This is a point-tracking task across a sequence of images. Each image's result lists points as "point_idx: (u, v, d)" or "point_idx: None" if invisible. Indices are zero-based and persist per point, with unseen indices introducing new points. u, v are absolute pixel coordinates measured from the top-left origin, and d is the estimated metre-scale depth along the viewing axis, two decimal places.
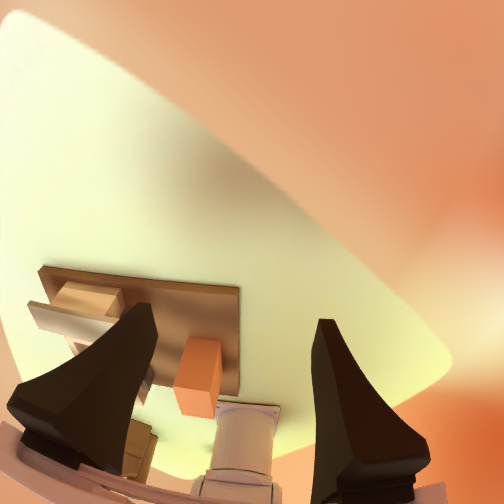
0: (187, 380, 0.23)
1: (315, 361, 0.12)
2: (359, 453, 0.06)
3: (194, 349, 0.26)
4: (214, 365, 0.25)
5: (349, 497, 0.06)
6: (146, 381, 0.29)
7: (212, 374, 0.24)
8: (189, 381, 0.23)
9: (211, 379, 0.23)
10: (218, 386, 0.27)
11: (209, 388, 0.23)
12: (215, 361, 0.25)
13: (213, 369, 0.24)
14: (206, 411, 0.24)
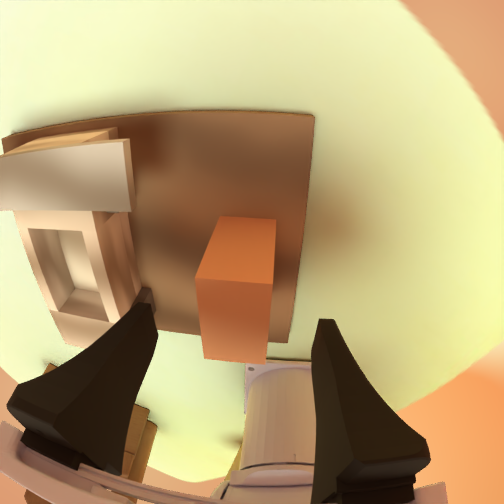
0: (224, 268, 0.12)
1: (315, 361, 0.12)
2: (359, 453, 0.06)
3: (233, 228, 0.15)
4: (273, 247, 0.14)
5: (349, 497, 0.06)
6: None
7: (272, 258, 0.13)
8: (229, 269, 0.12)
9: (272, 266, 0.13)
10: None
11: (271, 278, 0.12)
12: (273, 242, 0.14)
13: (273, 252, 0.14)
14: (254, 344, 0.14)
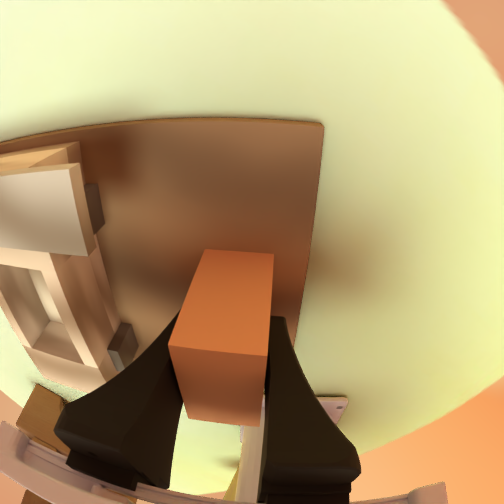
0: (205, 330, 0.09)
1: None
2: (273, 454, 0.06)
3: (220, 268, 0.12)
4: (269, 296, 0.11)
5: (275, 499, 0.06)
6: (120, 353, 0.15)
7: (268, 315, 0.10)
8: (211, 333, 0.09)
9: (267, 326, 0.10)
10: None
11: (266, 347, 0.09)
12: (270, 289, 0.11)
13: (268, 304, 0.11)
14: (246, 410, 0.11)
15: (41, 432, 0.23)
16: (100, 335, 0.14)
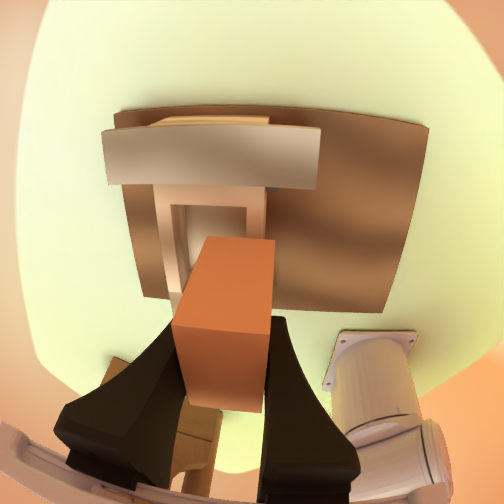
0: (208, 310, 0.10)
1: None
2: (273, 454, 0.06)
3: (222, 253, 0.13)
4: (271, 279, 0.11)
5: (275, 499, 0.06)
6: None
7: (270, 296, 0.10)
8: (214, 313, 0.10)
9: (269, 307, 0.10)
10: None
11: (268, 326, 0.09)
12: (271, 272, 0.12)
13: (270, 286, 0.11)
14: (248, 395, 0.11)
15: None
16: None
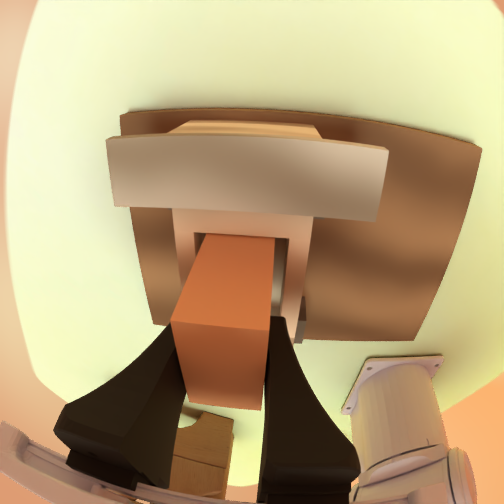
0: (208, 306, 0.10)
1: None
2: (273, 454, 0.06)
3: (221, 250, 0.13)
4: (270, 275, 0.11)
5: (275, 499, 0.06)
6: None
7: (269, 292, 0.10)
8: (214, 309, 0.10)
9: (269, 303, 0.10)
10: None
11: (267, 322, 0.09)
12: (271, 269, 0.12)
13: (270, 283, 0.11)
14: (248, 392, 0.11)
15: None
16: None
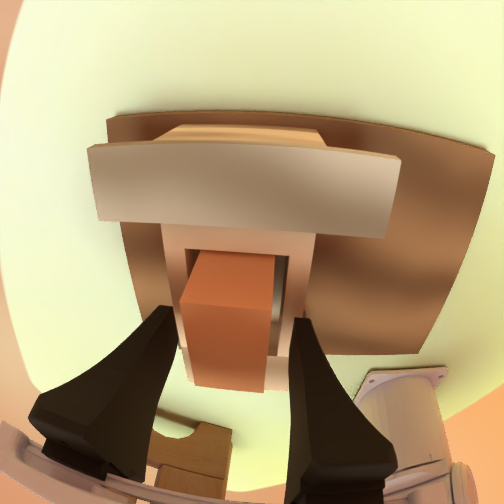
0: (214, 289, 0.10)
1: (291, 360, 0.12)
2: (318, 455, 0.06)
3: None
4: (272, 262, 0.12)
5: (313, 499, 0.06)
6: None
7: (272, 277, 0.11)
8: (220, 291, 0.10)
9: (271, 286, 0.11)
10: None
11: (270, 303, 0.10)
12: (273, 256, 0.12)
13: (272, 268, 0.12)
14: (251, 373, 0.12)
15: None
16: None
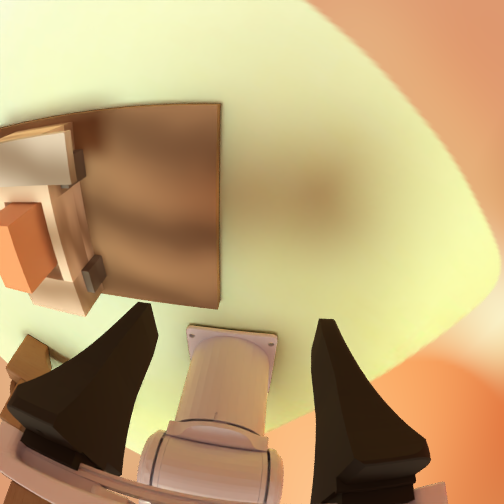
0: None
1: (315, 361, 0.12)
2: (359, 453, 0.06)
3: None
4: (33, 206, 0.16)
5: (349, 497, 0.06)
6: (90, 274, 0.21)
7: (24, 213, 0.15)
8: None
9: (19, 217, 0.15)
10: (51, 255, 0.18)
11: (10, 223, 0.14)
12: (37, 204, 0.16)
13: (29, 209, 0.16)
14: (19, 275, 0.16)
15: (27, 374, 0.28)
16: (77, 257, 0.20)
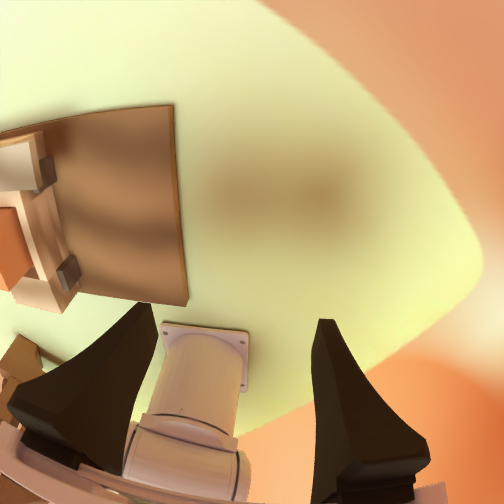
0: None
1: (315, 361, 0.12)
2: (359, 453, 0.06)
3: None
4: (8, 210, 0.16)
5: (349, 497, 0.06)
6: (65, 273, 0.21)
7: (0, 217, 0.15)
8: None
9: None
10: (27, 255, 0.19)
11: None
12: (12, 208, 0.17)
13: (4, 213, 0.16)
14: None
15: (17, 372, 0.28)
16: (51, 258, 0.20)
